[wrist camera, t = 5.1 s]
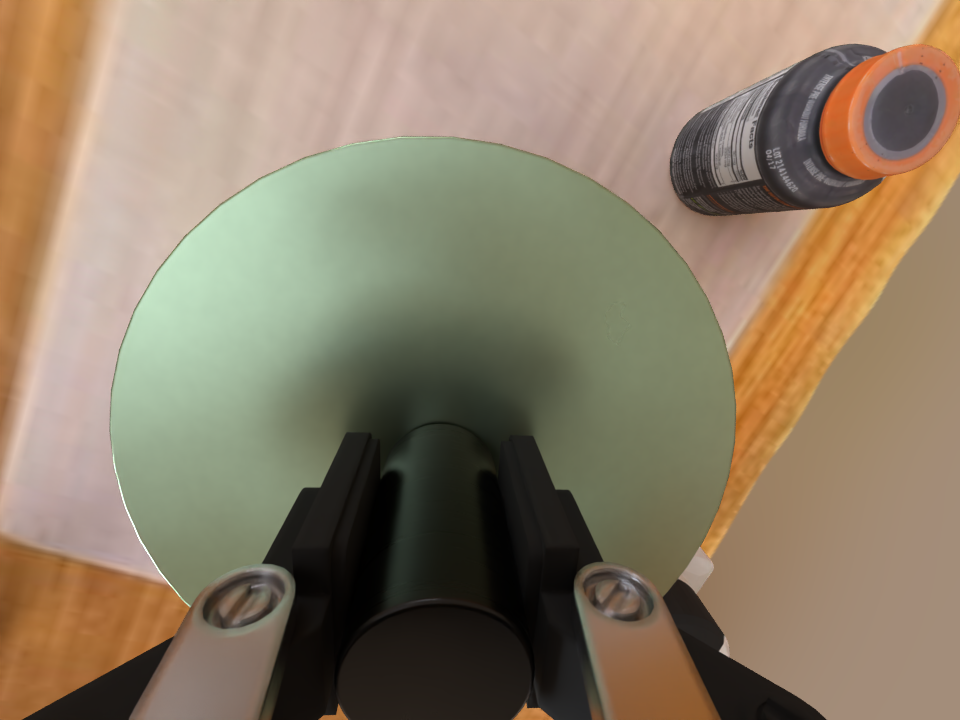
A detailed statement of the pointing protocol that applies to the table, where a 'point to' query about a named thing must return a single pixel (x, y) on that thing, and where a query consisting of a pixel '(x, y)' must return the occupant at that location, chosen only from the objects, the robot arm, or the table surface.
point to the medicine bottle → (695, 604)
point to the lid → (423, 396)
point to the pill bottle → (818, 131)
